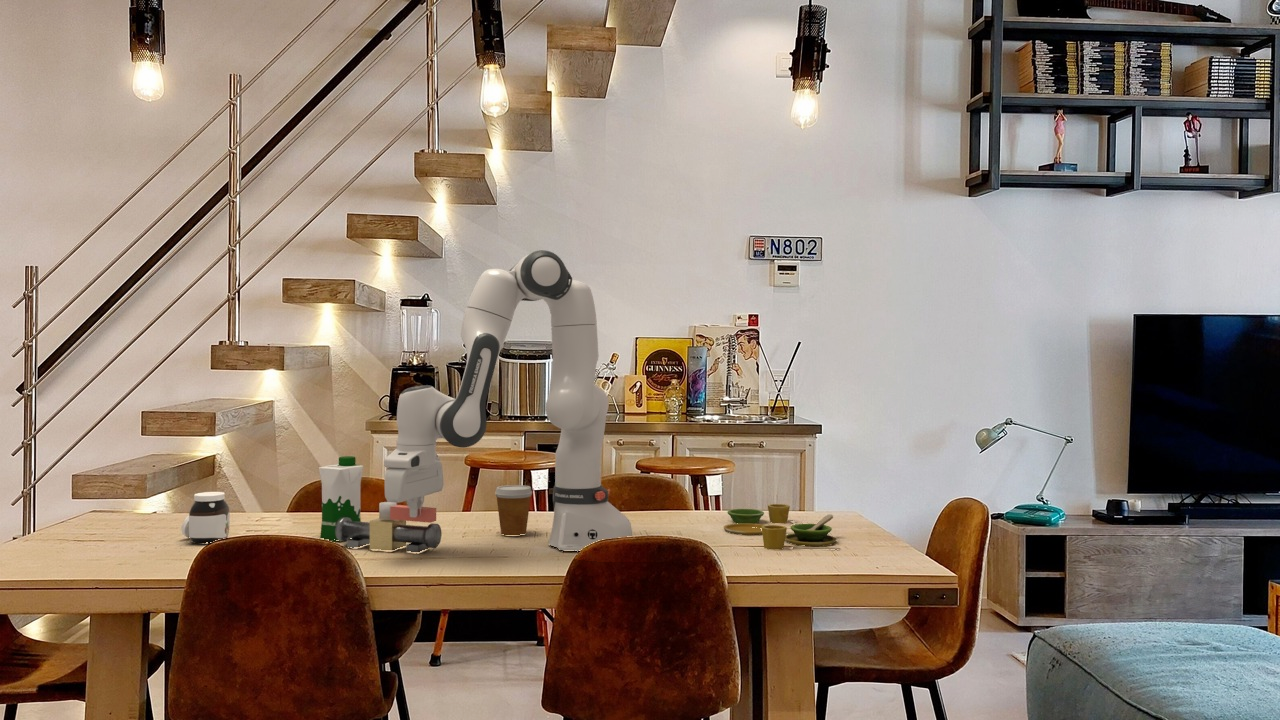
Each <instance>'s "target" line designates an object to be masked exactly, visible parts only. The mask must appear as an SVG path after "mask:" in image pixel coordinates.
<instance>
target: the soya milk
mask: <svg viewBox="0 0 1280 720" xmlns="http://www.w3.org/2000/svg"><path fill="white" fill-rule="evenodd" d="M318 472H319V477H320V482H321V523H320V524H321V525H320V536H319V539H320V538H324V539H329V540H333V541H332V542H335V541H336V540H338V539H337V538H336V535H335V527H336V524H337V522H338V520H339V519H340V518H342V517H349V518H351V520H352V521H357V522H362V521H361V484H362V483H361V482H362V477H363V472H364V465H360V464H356V456H352V455H351V456H350V455H349V456H348V455H347V456H346V455H345V456H339V457H338V464H330V465H325V466H320V467H318ZM334 539H335V540H334ZM336 543H338V542H337V541H336Z"/></svg>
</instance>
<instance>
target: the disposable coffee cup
mask: <svg viewBox="0 0 1280 720" xmlns="http://www.w3.org/2000/svg"><path fill="white" fill-rule="evenodd" d="M494 494H495V497H496V502H497V504H496V505H497V511H498V520H499V527H500V529H499V530H500V535H501V534H504V535H520V534H525V533H526V534H527V528H528V527H527V526H528V520H529V513H530V504H531V497H532V494H533V491H532V487H531V486H530V485H522V484H521V485H520V484H509V485H500V486H497V487H496V490H495V492H494Z"/></svg>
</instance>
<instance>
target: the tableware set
mask: <svg viewBox="0 0 1280 720" xmlns="http://www.w3.org/2000/svg"><path fill="white" fill-rule="evenodd" d="M767 509H768V510H767V511H768V516H769V522H770V523H771V522H772V523H771V524H767V525H766V524H760V523H759V522H760V520H761V518H762V517H763V516H764V515H765V512H764V511H763V510H759V509H753V508H752V509H751V508H735V509H733V508H732V509H729V510H727V511H726V512H727V515H729V517H730V518H731V520H732V522H733V523H730V524H726V525H724V526H723V527H722V528H723V529H724V530H725V531H726V532H727V533H729V532H730V533H729V534H732V533H734V535H738V534H742V535H741V536H760V535H759V534H762V535H761V536H762V542H763V547H764V549H765V548H767V549H766V550H769V549H781V550H783V549H784V548H785V542H786V543H788V542H789V543H788V544H790V543H792V544H791V545H793V544H796V545H794V546H792V547H793V549H835V550H837V549H841V547H837V546H835V547H830V546H831V545H830V544H832V545H834V543H835V542H837V538H836V537H835V536H832V535H827V534H828V533H831V531H832V530H833V528H832V527H831V526H830V525H829V526H828V525H826V524H827V523H828V522H830V521H831V520H832V519H834V515H833V514H831V513H830V514H827V515H825V516H824V517H822V519H820V520H818V521H819V522H818V523H817V524H814V523H808V524H803V523H797V524H795V525H792V526H790V530H791V531H792V532H788V530H787V529H788V528H787V526H784V525H780V524H779V525H777V524H775V523H784V524H787V523H788V521H789V520H788V518H789V512H790V505H789V504H786V503H784V504H783V503H770V504H768V505H767ZM793 520H794V519H793ZM793 520H790V521H793ZM734 522H735V523H734ZM737 523H738V524H737ZM758 523H759V524H758ZM752 527H755V528H752ZM756 527H757V528H756ZM760 528H762V531H761V529H760ZM787 534H788V535H787ZM799 545H805V546H799ZM823 545H828V546H823ZM810 546H819V547H810ZM782 548H783V549H782ZM835 550H834V551H835ZM837 551H838V550H837Z"/></svg>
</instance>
